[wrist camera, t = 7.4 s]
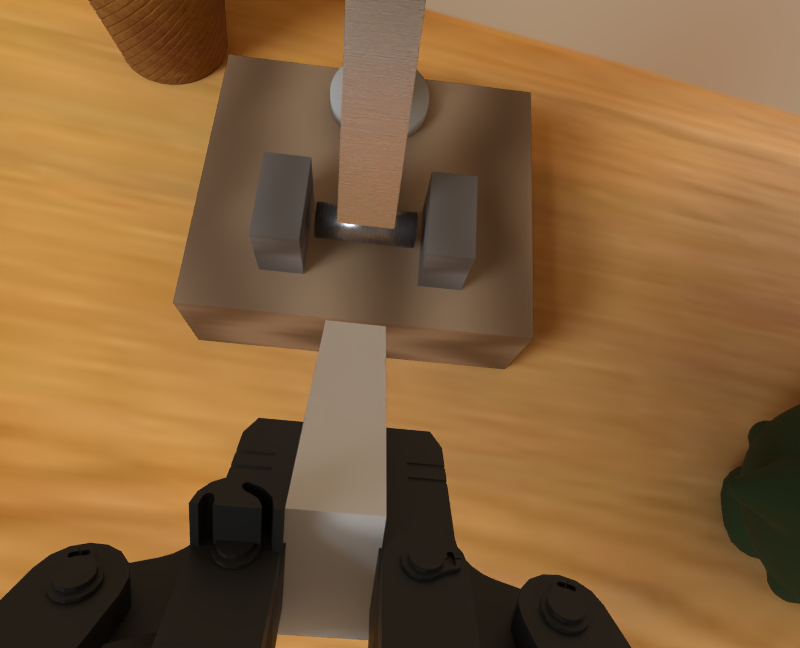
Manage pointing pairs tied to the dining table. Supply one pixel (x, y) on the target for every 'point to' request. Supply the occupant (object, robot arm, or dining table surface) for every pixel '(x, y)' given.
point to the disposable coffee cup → (167, 36)
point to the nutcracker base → (352, 261)
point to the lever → (374, 124)
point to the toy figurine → (769, 502)
